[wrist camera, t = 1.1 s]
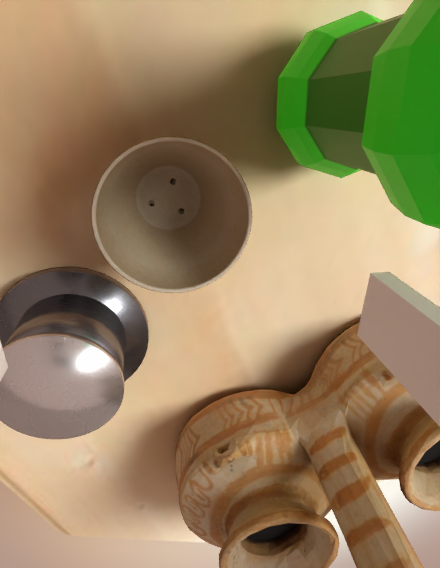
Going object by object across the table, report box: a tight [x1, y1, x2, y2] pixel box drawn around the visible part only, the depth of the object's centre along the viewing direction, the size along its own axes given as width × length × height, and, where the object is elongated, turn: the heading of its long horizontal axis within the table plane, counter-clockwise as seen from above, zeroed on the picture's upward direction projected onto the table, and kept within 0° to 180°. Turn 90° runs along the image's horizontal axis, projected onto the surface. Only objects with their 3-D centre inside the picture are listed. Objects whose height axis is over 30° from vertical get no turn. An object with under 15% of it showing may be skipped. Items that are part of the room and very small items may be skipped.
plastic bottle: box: [276, 0, 440, 228], centre depth 17 cm, size 10×10×25 cm
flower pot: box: [91, 137, 252, 293], centre depth 26 cm, size 10×10×7 cm
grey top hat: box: [0, 267, 148, 439], centre depth 30 cm, size 13×13×8 cm
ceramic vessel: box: [175, 322, 440, 568], centre depth 31 cm, size 34×18×25 cm, turn 120°
